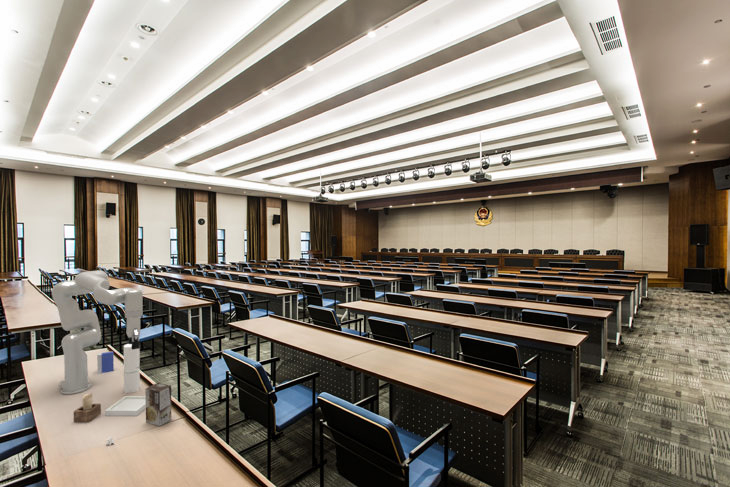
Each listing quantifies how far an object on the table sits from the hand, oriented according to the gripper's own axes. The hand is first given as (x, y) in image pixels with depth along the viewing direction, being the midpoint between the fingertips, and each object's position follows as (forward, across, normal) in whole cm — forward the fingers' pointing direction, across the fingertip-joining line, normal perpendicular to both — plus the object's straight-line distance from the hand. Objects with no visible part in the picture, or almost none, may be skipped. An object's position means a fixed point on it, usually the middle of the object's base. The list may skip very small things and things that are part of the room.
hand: (134, 346), depth 173 cm
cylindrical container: (+28, -14, +1) cm, 32 cm away
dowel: (+28, +6, -19) cm, 35 cm away
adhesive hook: (+29, +38, -13) cm, 49 cm away
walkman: (+28, -51, -8) cm, 59 cm away
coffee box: (+28, +30, +6) cm, 41 cm away
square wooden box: (+28, +6, -19) cm, 35 cm away
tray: (+28, +8, -2) cm, 30 cm away
